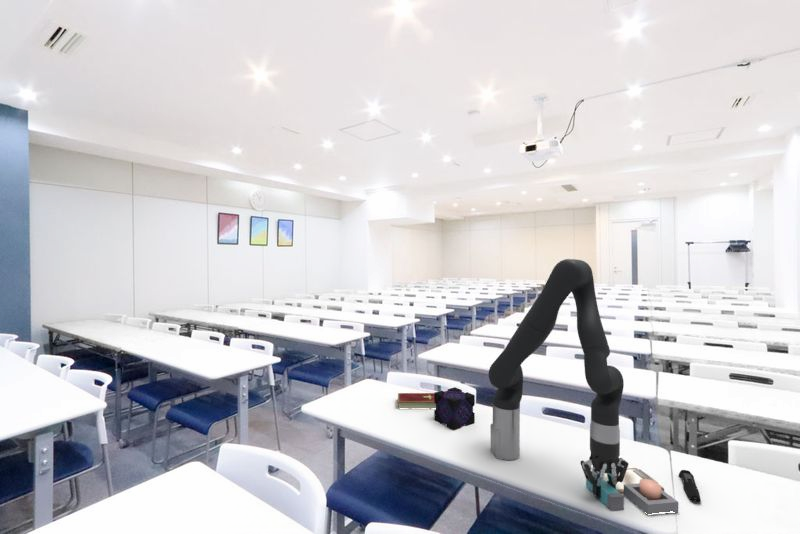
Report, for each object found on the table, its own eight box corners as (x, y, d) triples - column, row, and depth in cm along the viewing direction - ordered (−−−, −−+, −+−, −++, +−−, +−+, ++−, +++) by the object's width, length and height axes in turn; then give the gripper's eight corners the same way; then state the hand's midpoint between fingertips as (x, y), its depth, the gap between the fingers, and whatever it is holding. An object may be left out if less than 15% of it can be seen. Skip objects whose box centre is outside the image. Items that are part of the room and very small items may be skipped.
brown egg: (649, 501, 101) (649, 490, 101) (635, 489, 106) (635, 479, 106) (665, 499, 102) (665, 488, 102) (651, 488, 107) (651, 478, 107)
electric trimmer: (686, 503, 105) (686, 492, 105) (678, 475, 118) (678, 465, 118) (703, 508, 103) (703, 497, 103) (692, 479, 116) (693, 469, 116)
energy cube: (474, 423, 156) (474, 395, 156) (453, 430, 149) (453, 401, 149) (454, 413, 166) (455, 387, 166) (434, 420, 159) (434, 392, 159)
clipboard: (614, 494, 108) (614, 490, 108) (590, 473, 119) (590, 469, 119) (664, 490, 110) (664, 485, 110) (636, 469, 121) (636, 465, 121)
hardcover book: (397, 400, 182) (397, 392, 182) (440, 400, 183) (440, 392, 183) (398, 410, 170) (398, 401, 170) (443, 410, 171) (443, 401, 171)
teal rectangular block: (623, 509, 101) (623, 496, 101) (611, 510, 101) (611, 497, 101) (594, 482, 114) (594, 470, 114) (583, 483, 113) (583, 471, 113)
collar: (648, 515, 99) (648, 504, 99) (623, 494, 108) (623, 484, 108) (678, 512, 100) (678, 501, 100) (651, 492, 109) (651, 482, 109)
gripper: (589, 444, 102) (589, 506, 102) (637, 441, 103) (636, 502, 104) (573, 432, 109) (573, 490, 109) (617, 429, 111) (617, 486, 111)
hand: (604, 495), depth 107 cm, fingers closed on teal rectangular block, 3 cm apart
